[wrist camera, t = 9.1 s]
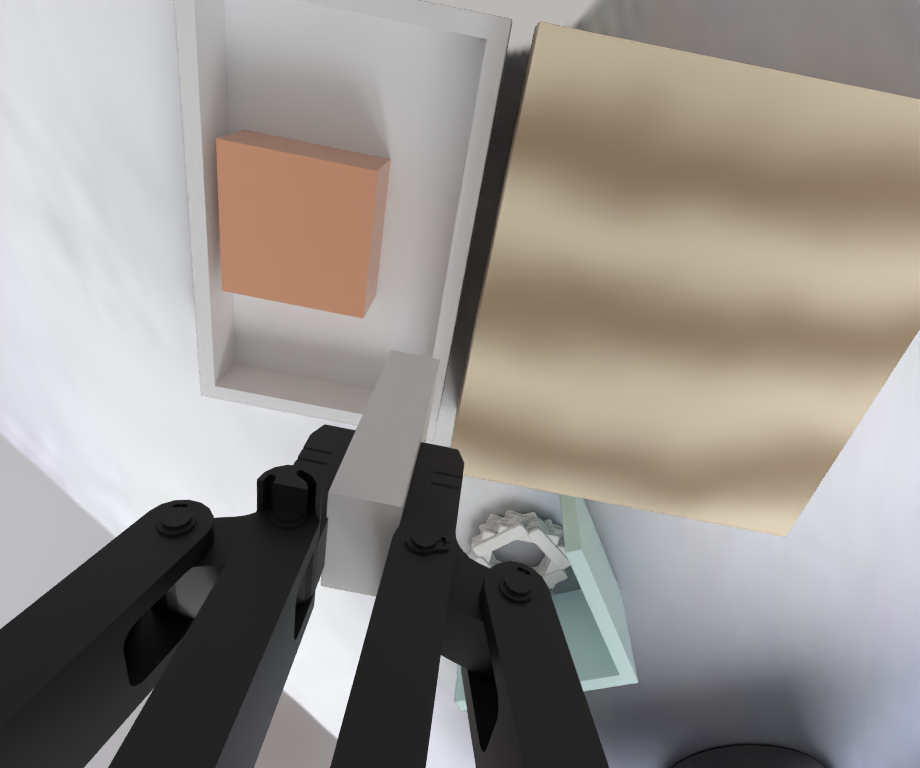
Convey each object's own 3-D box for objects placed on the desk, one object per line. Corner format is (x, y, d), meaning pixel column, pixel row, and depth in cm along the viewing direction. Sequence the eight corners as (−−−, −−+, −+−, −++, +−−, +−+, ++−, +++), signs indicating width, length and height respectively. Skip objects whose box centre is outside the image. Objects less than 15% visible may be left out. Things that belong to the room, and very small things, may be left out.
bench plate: (745, 465, 35) (785, 536, 30) (456, 409, 35) (446, 472, 30) (940, 110, 25) (1050, 126, 20) (534, 27, 25) (540, 21, 20)
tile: (221, 290, 28) (246, 270, 31) (363, 318, 28) (376, 295, 31) (215, 138, 25) (244, 129, 27) (377, 171, 25) (390, 159, 27)
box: (440, 406, 35) (433, 440, 32) (228, 365, 35) (201, 395, 32) (512, 22, 25) (511, 18, 22) (212, -39, 25) (170, -51, 22)
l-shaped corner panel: (570, 461, 37) (581, 549, 30) (619, 585, 42) (638, 682, 36) (402, 506, 40) (380, 594, 34) (468, 616, 45) (460, 711, 39)
